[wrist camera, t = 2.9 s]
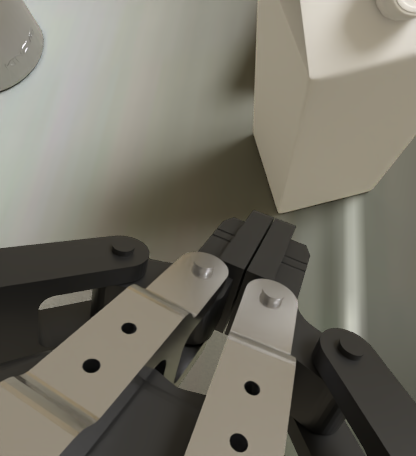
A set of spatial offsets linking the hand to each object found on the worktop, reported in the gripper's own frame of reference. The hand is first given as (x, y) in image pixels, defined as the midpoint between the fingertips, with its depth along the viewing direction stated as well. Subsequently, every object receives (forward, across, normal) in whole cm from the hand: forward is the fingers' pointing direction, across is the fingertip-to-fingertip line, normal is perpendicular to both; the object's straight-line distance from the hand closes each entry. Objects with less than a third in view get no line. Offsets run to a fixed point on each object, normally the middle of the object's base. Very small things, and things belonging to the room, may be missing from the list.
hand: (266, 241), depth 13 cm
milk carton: (+18, 0, +2) cm, 18 cm away
